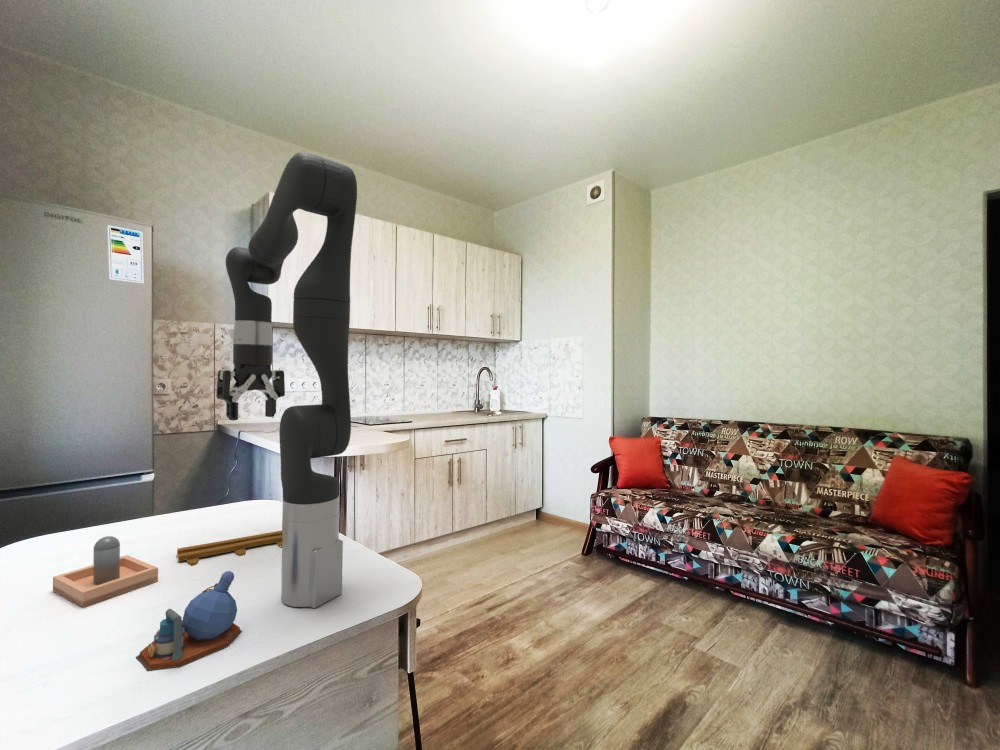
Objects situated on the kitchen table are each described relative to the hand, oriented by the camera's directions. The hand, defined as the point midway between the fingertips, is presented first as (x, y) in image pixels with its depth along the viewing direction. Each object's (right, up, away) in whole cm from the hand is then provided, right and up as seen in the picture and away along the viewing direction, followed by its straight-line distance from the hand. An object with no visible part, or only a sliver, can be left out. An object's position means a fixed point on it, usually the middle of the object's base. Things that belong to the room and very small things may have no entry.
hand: (252, 418), depth 103 cm
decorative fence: (-2, -29, +1) cm, 29 cm away
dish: (-16, -28, -18) cm, 37 cm away
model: (+9, -30, -35) cm, 46 cm away
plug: (-16, -27, -18) cm, 37 cm away
